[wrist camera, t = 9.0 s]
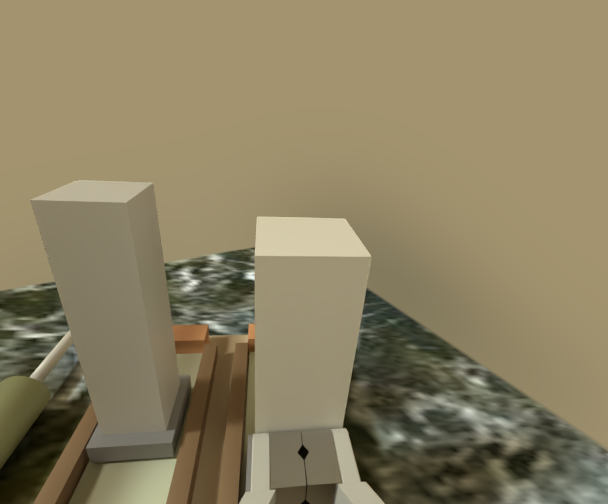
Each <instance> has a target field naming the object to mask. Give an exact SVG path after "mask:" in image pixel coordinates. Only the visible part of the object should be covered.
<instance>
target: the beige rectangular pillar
mask: <svg viewBox="0 0 608 504" xmlns="http://www.w3.org/2000/svg"><path fill="white" fill-rule="evenodd" d="M371 258H372V257H371V255H370V254H369V252H368V251H367V249H366V248H365V247H364V245H363V244H362V242H361V241H360V239H359V238H358V236H357V235H356V234H355V232H354V231H353V229H352V228H351V226H350V225H349V224H348V222H347V221H346V219H338V218H295V217H257V226H256V245H255V434H258V433H280V432H300V431H306V430H319V429H338V428H343V422H344V416H345V410H346V404H347V399H348V393H349V387H350V381H351V375H352V369H353V363H354V358H355V352H356V346H357V340H358V334H359V328H360V323H361V317H362V311H363V305H364V299H365V293H366V287H367V282H368V276H369V270H370V264H371ZM252 439H253V435H248V447H247V469H246V491H245V492H249V491H251V466H252Z"/></svg>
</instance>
